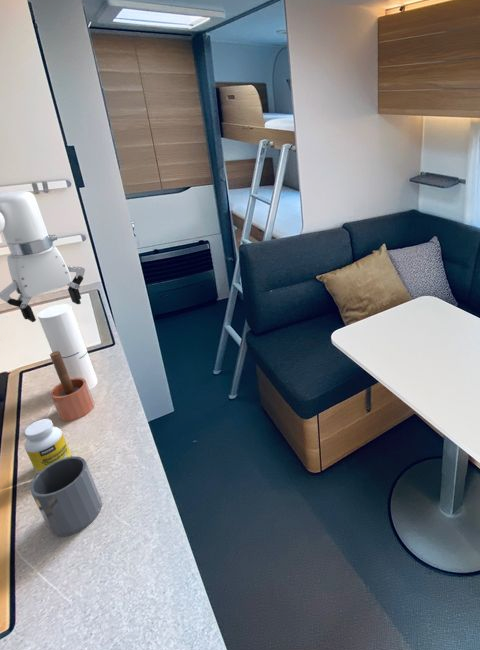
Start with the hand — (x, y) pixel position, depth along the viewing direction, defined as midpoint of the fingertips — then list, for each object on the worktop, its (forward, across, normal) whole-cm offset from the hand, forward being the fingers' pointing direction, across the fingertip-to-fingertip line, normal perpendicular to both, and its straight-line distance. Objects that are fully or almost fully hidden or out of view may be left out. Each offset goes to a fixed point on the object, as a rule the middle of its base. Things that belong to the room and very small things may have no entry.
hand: (55, 311), depth 100 cm
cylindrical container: (+28, -2, -8) cm, 30 cm away
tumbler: (+28, +17, +33) cm, 47 cm away
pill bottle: (+28, +14, +16) cm, 36 cm away
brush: (+28, +3, +2) cm, 28 cm away
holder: (+28, +3, +2) cm, 28 cm away
